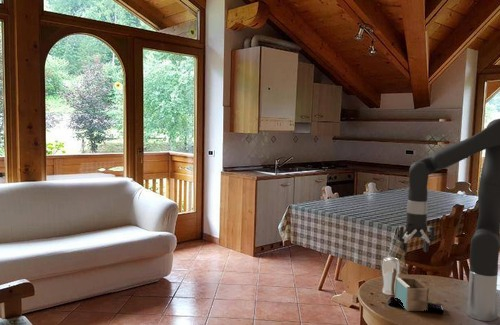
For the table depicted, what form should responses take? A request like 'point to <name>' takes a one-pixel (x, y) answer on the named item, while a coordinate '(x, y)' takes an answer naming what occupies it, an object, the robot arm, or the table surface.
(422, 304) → the crate
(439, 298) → the table surface
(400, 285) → the teal panel
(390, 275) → the beer glass
